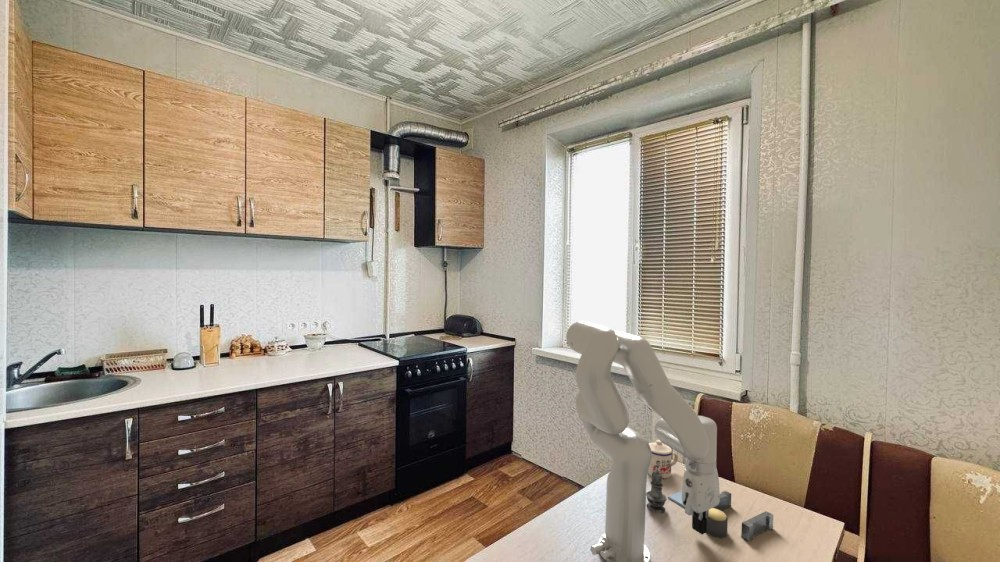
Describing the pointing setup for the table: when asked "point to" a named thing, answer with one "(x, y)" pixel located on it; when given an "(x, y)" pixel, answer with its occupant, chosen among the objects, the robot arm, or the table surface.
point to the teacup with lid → (661, 459)
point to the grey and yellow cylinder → (717, 523)
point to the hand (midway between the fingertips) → (699, 530)
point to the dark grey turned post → (656, 494)
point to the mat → (677, 498)
